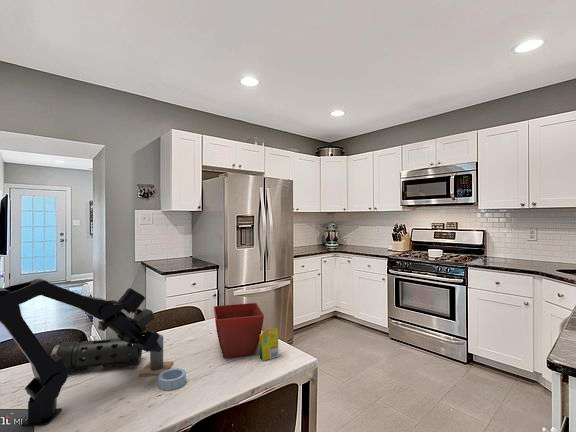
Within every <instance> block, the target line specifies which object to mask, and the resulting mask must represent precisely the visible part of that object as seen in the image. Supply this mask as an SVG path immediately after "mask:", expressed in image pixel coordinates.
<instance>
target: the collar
mask: <svg viewBox="0 0 576 432" xmlns="http://www.w3.org/2000/svg"><path fill="white" fill-rule="evenodd" d="M186 373H187V371H186V370H185V369H183V368H179V367H178V368H177V367H176V368H174V367H173V368H170V369H169V370H165V371H164V372H162V373H160V375H159V376H157V386H158V389H160V390H162V391H166V392H167V391H174V390H177V389H180V388H182V387H183V386H184V385H185V384H186V382H187V379H186V378H187V374H186Z"/></svg>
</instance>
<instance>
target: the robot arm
mask: <svg viewBox="0 0 576 432" xmlns="http://www.w3.org/2000/svg"><path fill="white" fill-rule="evenodd" d="M39 296H42V297H45V298H48V299H51V300H54V301H56V302H59V303H63V304H66V305H69V306H71V307H75V308H77V309H78V310H80V311H82V312H84V313H85V314H87V315H89V316H90V317H93V318H95V319H97V320H100V321H98V325H97V326H98V327H97V329H98V330H99V331H102V332H106V330H107V329H108V328H109V329H110V330H112V331H114V332H115V334H117V336H116V338H120V339H121V340H123V341H125V342H127V343H133V344H138V347H139V348H140V349H142V351H144V352H146V353H148V352H150V351H152V352H160V351H161V350H162V348H161V347H160V345H159V343H158V342H157V339H158V338H159V337H160V335H161V334H160V333H158V332H157V331H155V330H152V329H148V330H146V329H147V327H146V326H147V325H148V324H150V323H151V322H152V321H154V320H156V316H155V314H154V313H153V311H152V309H148V308H145V309H140V306H141V305H142V304H143V303H144V302H145V300H146V296H145V295H143V294H141V293H140V292H138V291H136V290H134V289H133V288H131V287H130V288H127V289H126V290H125V292H124V293H123V295H122V296H121V297H120V298H119V300H118V301H117V300H107V299H104V298H101V297H96V296H95V297H94V296H88V295H83V294H79V293H77V292H75V291H71V290H69V289H66V288H64V287H61V286H59V285H55V284H52V283H51V282H50V281H47V280H45V279H42V278H35V279H32V280H29V281H26V282H22V283H17V284H12V285H8V286H6V287H0V323H1V325H3V327H4V328H5V329H6V331H7V332H8V334H9V335H10V336H11V338H12V340H13V341H14V342H15V344H16V345H17V346H18V347H19V349H20V351H21V352H22V353H23V354H24V356H25V357H26V358H27V360H28V361H29V363H30V365H31V366H30V367H31V371H32V373H33V376H34V377H33V378H32V379H31V381H30V382H29V383H28V384H27V385H26V386H25V387H24V390H25V392H26V394H27V395H29V396H30V397H29V399H28V400H29V401H28V402H27V419H25V420H24V421H23V422H22V423H21V426H22V427H25V426H27V427H29V426H45V425H48V424H49V423H50V422H52V421H53V420H54V419H55V418H56V417H57V415H58V414H60V413H61V412H62V411H63V408H61V407H60V408H57V405H58V404H57V401H58V400H57V398H58V397H59V395H60V392H61V390H62V387H64V385H65V383H66V382H67V380H68V378H69V373H68V371H70V370H69V369H68V368H67V367H66V366H64V363H63V361H62V359H61V358H60V357H58V356H57V355H56V354H53V355H51V354H50V355H49V354H48V352H47V351H46V350H45V349H44V347H43V345H42V344H41V343H40V341H39V340H38V338H37V337H36V335H35V334H34V332H33V331H32V329H31V328H30V327H29V325H28V324H27V322H26V321H25V318H23V316H22V312H21V307H20V305H22V304H24V303H26V302H28V301H30V300H32V299H34V298H37V297H39ZM124 312H125V313H124ZM131 313H132V314H133V315H134V316H133V318H132V317H129V316H128V315H130V314H131ZM145 330H146V332H145ZM133 344H132V345H133Z"/></svg>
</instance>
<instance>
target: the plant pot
mask: <svg viewBox="0 0 576 432" xmlns="http://www.w3.org/2000/svg"><path fill="white" fill-rule="evenodd" d="M213 312H214V319H215V320H214V321H215V322H214V323H215V327H216V329H215V330H216V333H217V339H218V343H219V347H220V351H221V354H222V357H223V358H224V359H228V358H235V357H236V358H237V357H242V356H243V357H244V356H252V355H255V354H256V353H257V351H258V350H257V349H258V347H259V334H262V330H263V325H264V318H265V314H264V313H263V311H262V310H261V308H260V307H259V305H258V303H257V302H248V303H237V304H236V303H235V304H226V305H225V304H224V305H223V304H222V305H214V306H213Z"/></svg>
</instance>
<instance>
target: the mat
mask: <svg viewBox="0 0 576 432" xmlns="http://www.w3.org/2000/svg"><path fill="white" fill-rule="evenodd" d="M173 365H174V361H171V360H170V361H163V368H161V369H159V370H151V369H150V361H149V362H148V363H147V364H146V365H145V366H144V368H143V369H142V370H141V372H140V373H139V374H138V377H158V376H159V375H160V373H162V372H164V371H165V370H169V369H172V368H171V367H172V366H173Z"/></svg>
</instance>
